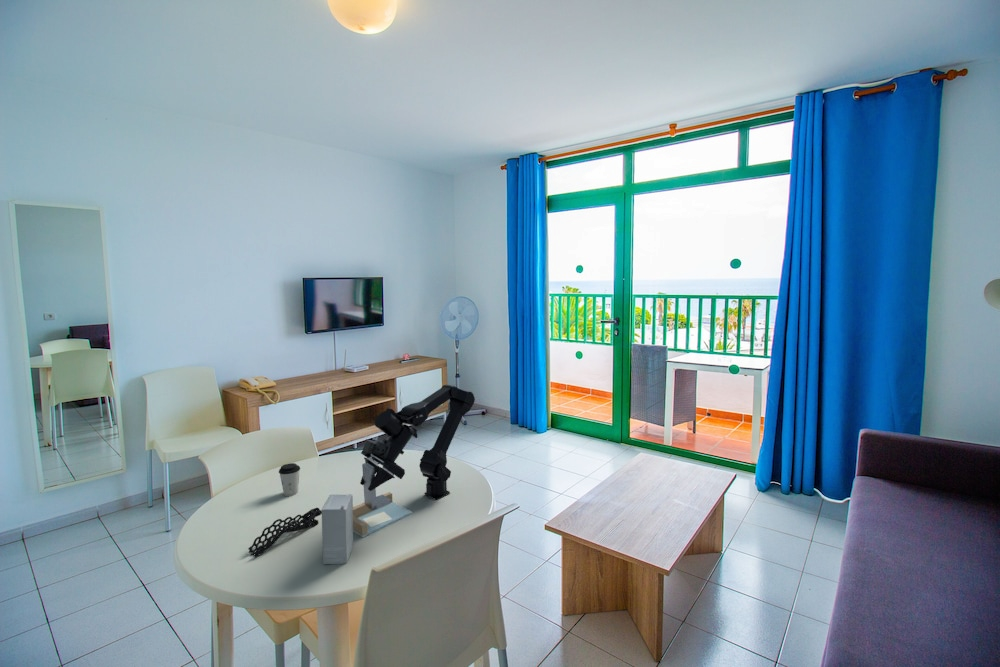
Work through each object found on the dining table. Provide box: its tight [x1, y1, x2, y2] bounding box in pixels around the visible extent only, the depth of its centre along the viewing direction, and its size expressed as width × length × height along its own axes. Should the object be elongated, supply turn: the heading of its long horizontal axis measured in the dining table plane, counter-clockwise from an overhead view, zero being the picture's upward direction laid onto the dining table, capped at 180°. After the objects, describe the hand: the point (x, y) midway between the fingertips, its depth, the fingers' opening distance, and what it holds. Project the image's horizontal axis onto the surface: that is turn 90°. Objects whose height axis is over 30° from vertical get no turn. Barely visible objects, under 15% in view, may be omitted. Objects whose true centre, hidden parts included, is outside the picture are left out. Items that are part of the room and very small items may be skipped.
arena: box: [353, 491, 413, 538], centre depth 144 cm, size 18×12×4 cm, turn 139°
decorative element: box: [247, 507, 322, 557], centre depth 135 cm, size 22×5×6 cm, turn 151°
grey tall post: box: [361, 462, 390, 510], centre depth 141 cm, size 6×5×13 cm
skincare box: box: [320, 493, 354, 565], centre depth 124 cm, size 8×7×16 cm
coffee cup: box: [278, 462, 301, 497], centre depth 163 cm, size 7×7×10 cm
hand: (365, 487), depth 139 cm, fingers closed on grey tall post, 5 cm apart
